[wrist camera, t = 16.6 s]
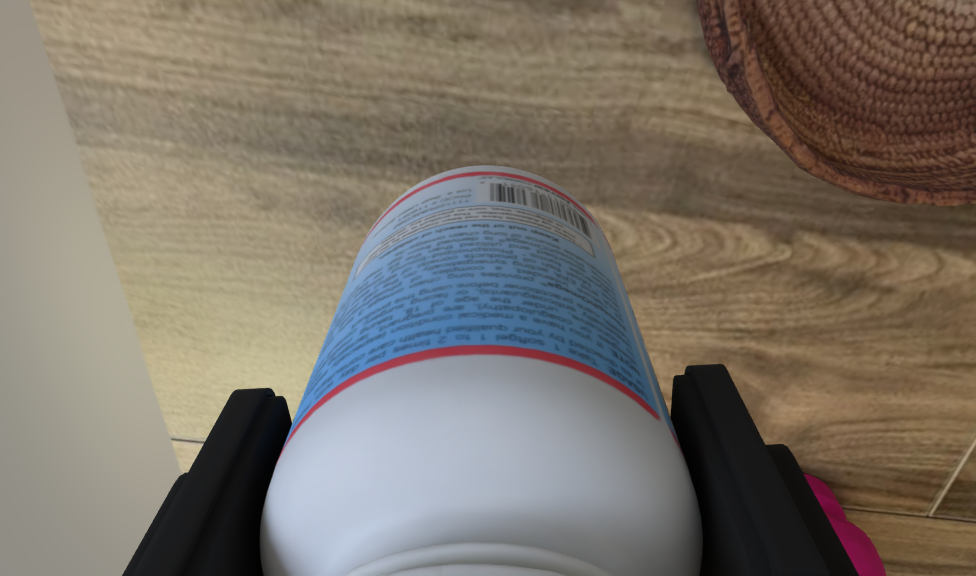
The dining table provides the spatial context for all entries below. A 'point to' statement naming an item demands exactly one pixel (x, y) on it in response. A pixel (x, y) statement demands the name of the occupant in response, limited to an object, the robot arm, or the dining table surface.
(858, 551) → the pepper mill
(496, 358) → the pill bottle
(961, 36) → the basket
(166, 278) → the dining table surface
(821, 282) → the dining table surface
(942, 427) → the dining table surface
